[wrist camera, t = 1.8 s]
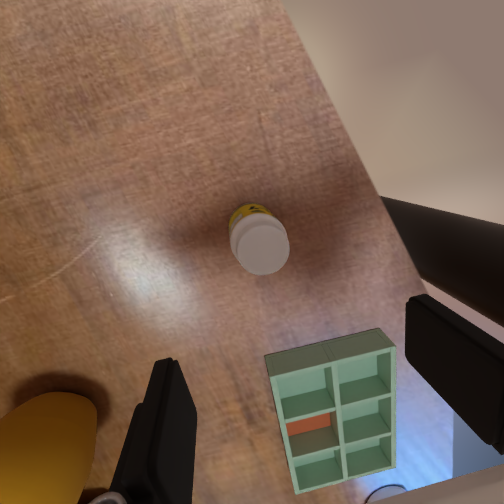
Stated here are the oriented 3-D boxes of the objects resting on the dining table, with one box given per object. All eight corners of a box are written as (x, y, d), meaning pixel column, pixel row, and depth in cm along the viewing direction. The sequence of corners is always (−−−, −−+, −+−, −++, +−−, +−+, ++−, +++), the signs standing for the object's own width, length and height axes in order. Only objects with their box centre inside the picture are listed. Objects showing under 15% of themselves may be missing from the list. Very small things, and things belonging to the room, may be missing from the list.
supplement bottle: (282, 216, 28) (308, 240, 20) (258, 254, 29) (274, 290, 21) (242, 192, 26) (252, 208, 18) (219, 233, 27) (219, 263, 19)
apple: (102, 361, 31) (27, 493, 19) (126, 427, 34) (77, 572, 22) (1, 377, 30) (-146, 526, 18) (37, 443, 34) (-64, 603, 22)
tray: (379, 327, 34) (396, 345, 31) (382, 443, 42) (396, 467, 39) (264, 355, 33) (269, 377, 30) (289, 468, 41) (295, 494, 38)
